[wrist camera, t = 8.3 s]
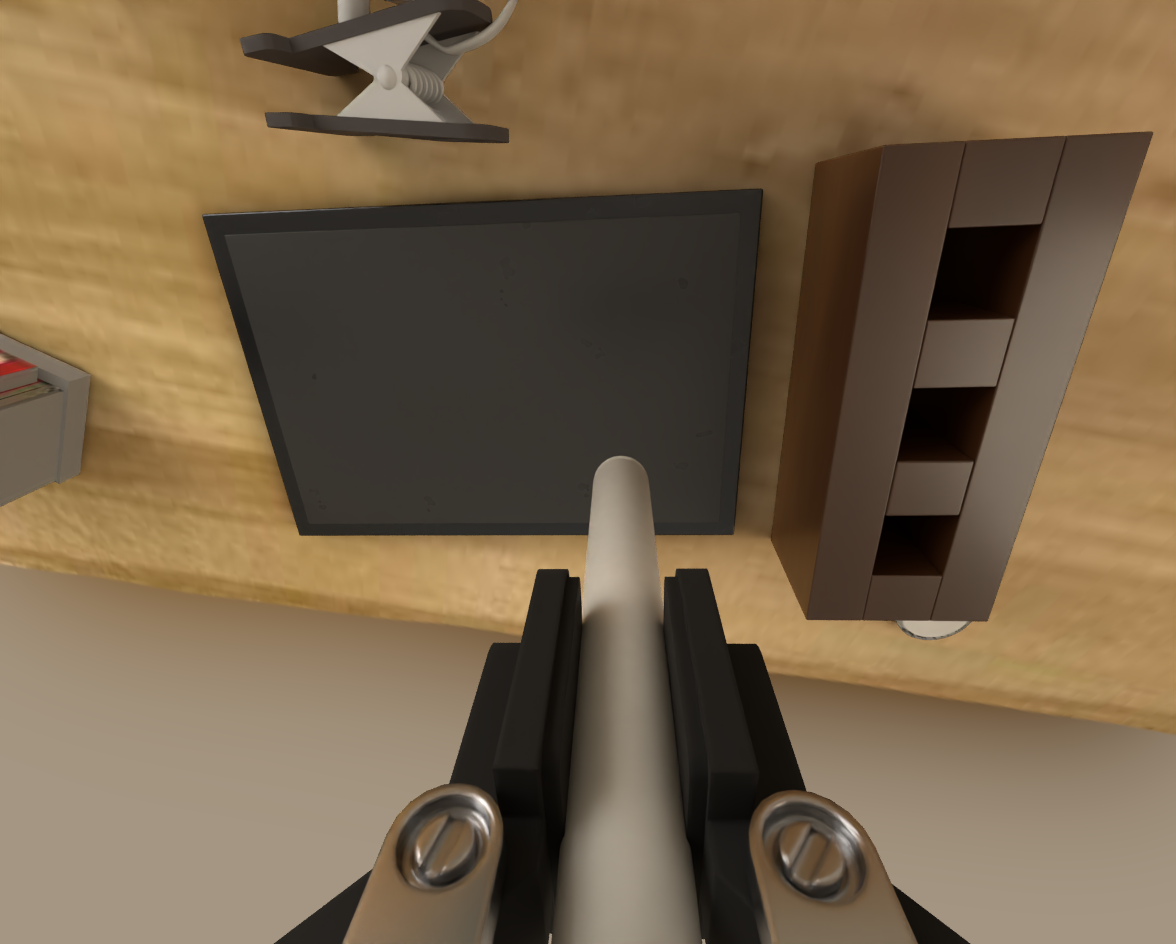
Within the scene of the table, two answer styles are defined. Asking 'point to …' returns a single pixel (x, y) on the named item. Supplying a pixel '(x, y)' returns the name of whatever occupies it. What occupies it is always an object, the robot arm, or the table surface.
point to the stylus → (624, 742)
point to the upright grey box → (38, 419)
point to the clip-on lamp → (390, 67)
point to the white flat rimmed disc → (932, 628)
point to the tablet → (498, 357)
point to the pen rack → (936, 362)
